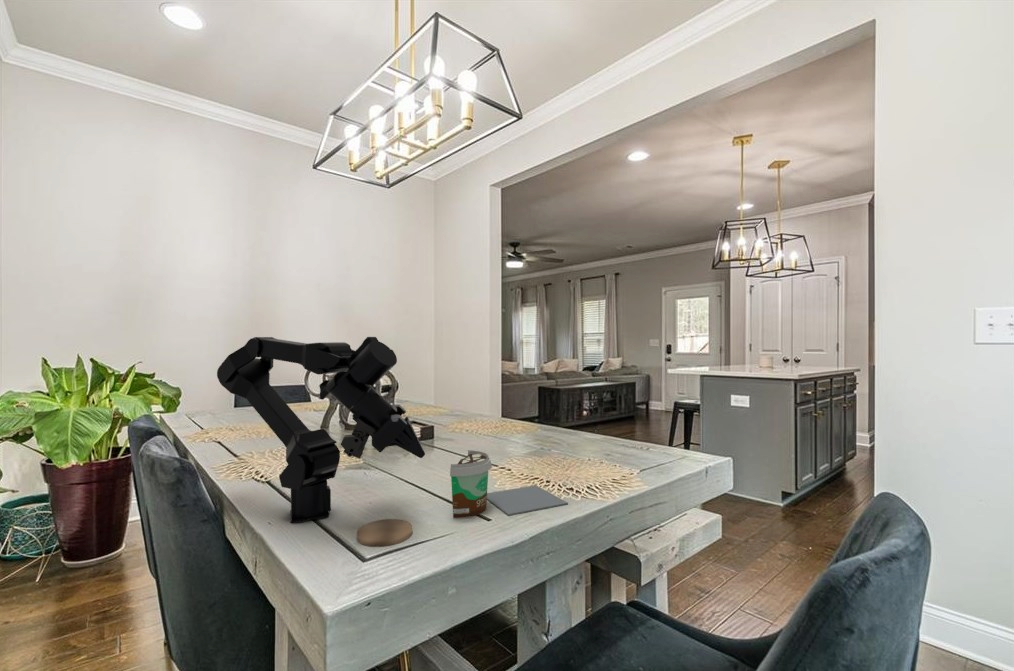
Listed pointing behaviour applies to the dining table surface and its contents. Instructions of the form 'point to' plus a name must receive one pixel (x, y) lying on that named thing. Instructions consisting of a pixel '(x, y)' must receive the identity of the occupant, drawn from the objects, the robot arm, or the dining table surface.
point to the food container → (470, 484)
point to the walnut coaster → (384, 532)
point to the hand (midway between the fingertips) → (423, 456)
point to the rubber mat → (524, 500)
